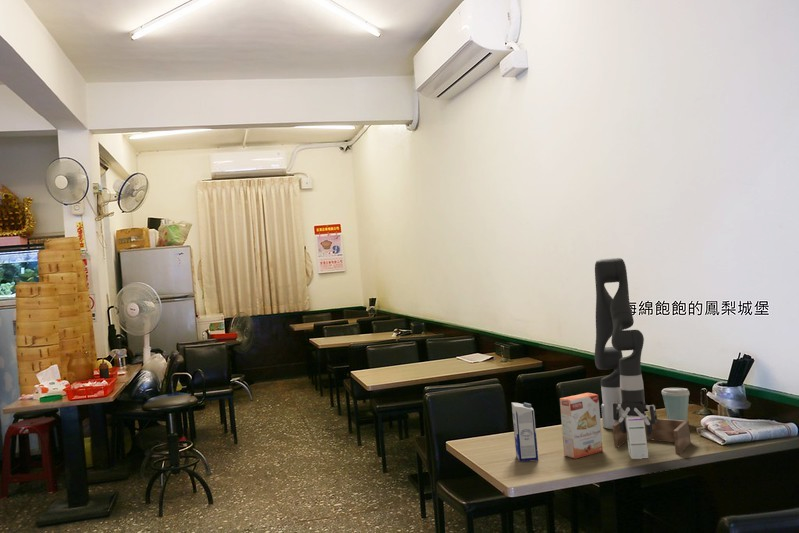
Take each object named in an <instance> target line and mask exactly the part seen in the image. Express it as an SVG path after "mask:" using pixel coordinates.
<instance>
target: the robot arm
mask: <svg viewBox="0 0 799 533" xmlns="http://www.w3.org/2000/svg"><path fill="white" fill-rule="evenodd" d="M594 279H595V346H594V363H595V367H596V368H597V370H599V371H600V370H603V371H604V370H605V371H607V370H613V371H612V372H611V373H610V374H609V375H606V376H603V377H602V378H601V379H600V387H601V388H600V389H601V390H600V391H601V398H602V403H601V405H600V408H601V409H600V410H601V420H602V427H603V428H606V429H608V430H613V425H614V424H615V423H617V422H618V421H619V423H620V431H622V433H625V432H626V426H625V421H624V420H625V417H626V415H628V416H640V417H641V419H642V420H644V421H645V423H646V424H647V425H646V430H647V436H650V435H651V434H652V432H653V431H652V424H654V423H656V422H657V418H658V416H657V410H656V409H657V408H656V405H655V404H650V405H648V404H646V401H645V399H646V398H645V397H646V396H645V388H644V380H643V374H642V366H641V365H642V364H641V361H642V360H641V359H642V353H643V347H644V342H645V338H644V334H643V333H642V332H641V330H639V329H629V328H631V327H633V325H634V316H633V312H632V308H631V303H630V295H629V292H630V291H629V282H628V272H627V266H626V262H625V261H624V259H623V258H619V257H615V258H613V257H612V258H602V259H597V260H596V262H595V263H594ZM609 283H618V287H617V290H616V293H615V294H614V296H613V297H612V296H611V295H610V294H609V292H608V290H607V288H606V285H605V284H609ZM610 339H611V346H607V343H608V341H609V340H610ZM623 351H624V352H625V351H632V352H631V354H630V355H626V356H624V355H623ZM646 410H647V411H648V412H649V413H650V416H649V415H648V413H647V412H646ZM650 418H651V419H650Z"/></svg>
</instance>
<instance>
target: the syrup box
mask: <svg viewBox="0 0 799 533" xmlns="http://www.w3.org/2000/svg"><path fill="white" fill-rule="evenodd" d="M625 422H626V431H627V441H626V442H627V447H628V448H627V449H628V454H629V457H630V458H631V459H632V460H643V459H642V458H648V459H649V452H648V441H647V440H648V439H646V432H645V424H644V420H642V419H641V417H640V416H628V415H626V417H625Z"/></svg>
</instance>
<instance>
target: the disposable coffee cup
mask: <svg viewBox="0 0 799 533" xmlns="http://www.w3.org/2000/svg"><path fill="white" fill-rule="evenodd" d="M661 395H662V399H663V404H664V407H665V408H664V409H665V413H666V419H671V420H684V421H688V411H689V399H690V398H689V397H690V395H691V394H690V391H689V389H688V388H684V387H666V388H662V390H661Z"/></svg>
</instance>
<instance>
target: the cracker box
mask: <svg viewBox="0 0 799 533" xmlns="http://www.w3.org/2000/svg"><path fill="white" fill-rule="evenodd" d="M559 406H560V420H561V431H562V444H563V455H564V456H565V457H569V458H572V459H575V460H576V459H579V458H582V457H586V455H587V456H590V455H593V454H594V455H595V454H597V452H598V453H601V451H602V452H603V451H604V448H603V438H602V437H603V435H602V422H601V413H600V412H601V411H600V410H601V409H600V399H599V394H596V393H592V392H584V393H579V394H576V395H570V396H566V397H560V398H559Z"/></svg>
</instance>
